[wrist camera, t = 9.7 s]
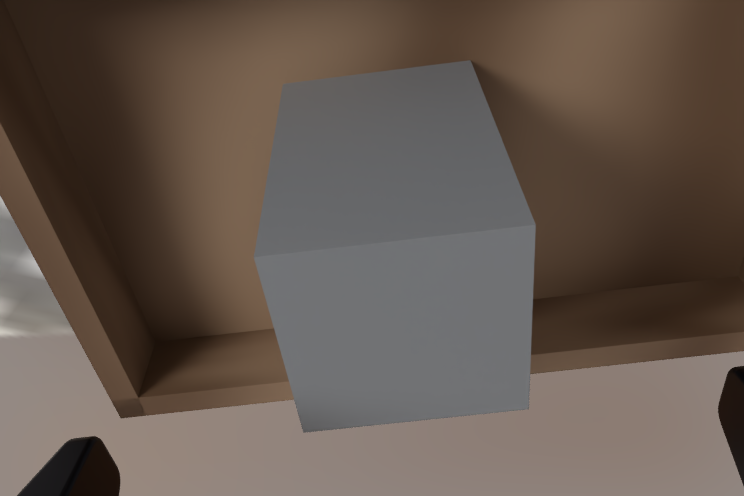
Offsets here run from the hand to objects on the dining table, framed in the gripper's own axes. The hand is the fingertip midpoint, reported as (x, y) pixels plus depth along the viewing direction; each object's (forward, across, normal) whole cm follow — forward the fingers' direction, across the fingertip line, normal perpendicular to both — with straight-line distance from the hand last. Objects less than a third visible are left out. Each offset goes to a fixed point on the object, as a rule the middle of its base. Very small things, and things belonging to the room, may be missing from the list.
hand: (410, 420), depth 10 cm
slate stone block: (+7, 0, 0) cm, 7 cm away
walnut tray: (+8, -1, 0) cm, 8 cm away
